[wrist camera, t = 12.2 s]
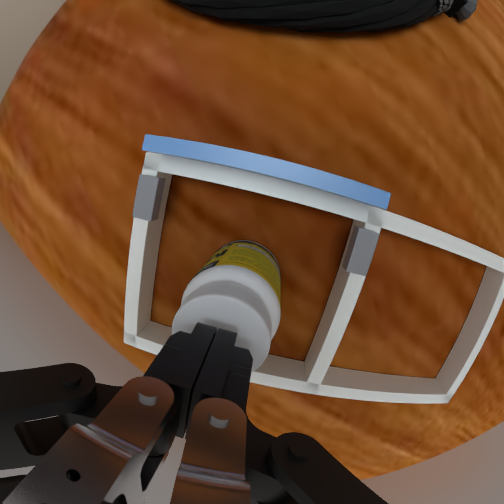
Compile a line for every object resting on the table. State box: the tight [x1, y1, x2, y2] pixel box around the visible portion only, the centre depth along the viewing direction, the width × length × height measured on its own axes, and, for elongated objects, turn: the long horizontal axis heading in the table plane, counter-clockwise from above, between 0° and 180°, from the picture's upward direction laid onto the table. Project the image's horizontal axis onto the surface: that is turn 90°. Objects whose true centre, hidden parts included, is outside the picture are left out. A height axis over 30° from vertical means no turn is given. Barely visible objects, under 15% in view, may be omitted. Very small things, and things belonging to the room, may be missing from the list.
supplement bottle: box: [172, 240, 281, 373], centre depth 15 cm, size 5×5×8 cm
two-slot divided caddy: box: [124, 134, 504, 403], centre depth 16 cm, size 27×14×5 cm, turn 76°
